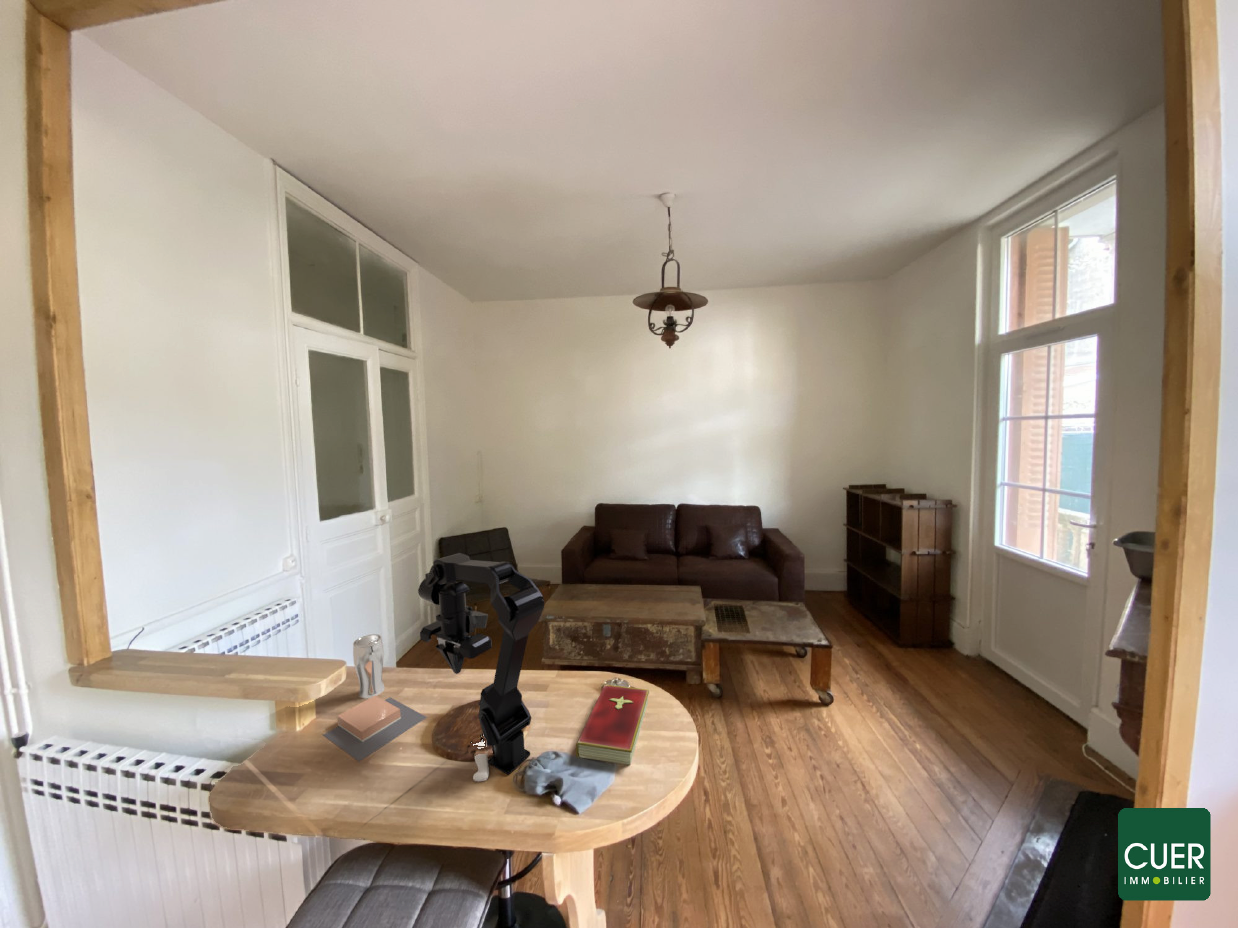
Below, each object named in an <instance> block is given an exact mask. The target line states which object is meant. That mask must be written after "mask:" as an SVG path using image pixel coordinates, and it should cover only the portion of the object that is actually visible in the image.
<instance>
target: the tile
mask: <svg viewBox="0 0 1238 928" xmlns="http://www.w3.org/2000/svg"><path fill="white" fill-rule="evenodd" d="M385 700H386V699H383V698H381V697H380V696H378V695H377V696H376V695H375V696H373V697H371V698H367V699H365V700H364V701H362V702H360V703H359V704H357V705H355V706H352V707H351V708H349V709H347V710H346V711H344V712H342V713H340V714H338V715H337V716H336V717H337V725H338V726H340V727H342V728H343V729H344V730H346V731H347V732H349V733H350V734H352V735H353V736H355V737H356V738H358V739H359V740H361V741H362V742H363V741H365V740H366V739H368V738H370V737H371V736H373V735H375V734H376V733H378V732H379V731H381V730H383V729H384V728H386V727H388V726H389V725H391V724H392V723H394V722H396V721H397V720H399V719H401V715H400V709H399V708H397V707H395V706H394V705H392V704H390V703H388V702H386V701H385Z"/></svg>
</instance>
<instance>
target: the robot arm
mask: <svg viewBox="0 0 1238 928" xmlns="http://www.w3.org/2000/svg"><path fill="white" fill-rule="evenodd" d="M432 563H433V565H432V566H430V570H429V572H427V573H425V574H424V575H425V577H424V579H423V580H422V581H421V582H420V584H419V587H418V589H417V593H418V595H419V597H420V598H421V599H423V600H425V601H428V603H432V604H434V605H436V606H437V605H438V606H439V614H437V615H435V619H436V621H434V622H432V623H430V624H427V625H426V626H423V627H422V629H421V630H420V632H419V638H420V641H422V642H425V643H430V641H431V640H432V636H433V635H434V636H436V640H437V641H438V644H437V645H436V646H435V649H436V650H438V652H439V653H440V654H441V656H442V657H443V658H444V660H445V661H446V663H447V664H448V666H449V667H450V669H451V670H452V672H453V673H454V674H456V675H458V674H460V673H461V672H462V668H463V665H464V661H465V658H467V659H470V660H472V659H473V660H474V659H475V658H477V657H479V656H480V655H482V654H484V653H485V652H487V651H489V650H490V649H492V645H493V644H492V638H491V637H490V636H488V635H485V634H482V633H479V632H477V633H476V634H474V635H472V634H471V633H474V632H475V629H486V627H487V622H488V618H489V614H488V613H485V612H481V611H477V610H473V607H472V606H469V605H467V600H466V599H467V598H466V593H469V592H470V591H471V590H470V588H469V586H468V585H467V584H465V583H464V582H470V583H477V584H478V583H479V584H487V587H488V588H489V589H490V605H491V606H492V608H493V609H494V611H495V612H496V613H497V622H498V623H499V625H500V626H501V628H502V629H503V630H502V631H503V633H502V638H501V643H500V648H499V653H498V657H497V663H496V669H495V674H494V678H493V682H492V683H491V684H489V685H487V686H485V687H484V688H482V690H481V691H480V698H479V702H478V704H477V705H478V706H479V709H478V710H479V711H478V720H479V725H480V729H481V731H482V732H483V736H484V738H485V739H486V746H488V747H491V752H492V751H493V753H492V756H491V757H489V758H488V765H490V766H492V767H493V768H495V769H497V770H498V771H501V772H503V773H504V774H506V775H510V774H512V773H513V772H514V771H515V770H516V769H517V768H518V767H519V766H520V765H521V764H522V763H523V762H524V761H526V759H528V758H529V757H530V755H531V751H530V750H528V749H526V748H525V737H524V735H525V734H524V729H525V728H527V726H528V727H529V726H530V725H531V722H532V716H531V714H530V712H529V710H528V709H527V706H526V705H525V703H524V702H523V694H522V692H521V690H519V688H518V685H519V679H520V675H521V671H522V666H523V661H524V656H525V652H526V648H527V643H528V638H529V634H530V632H531V631H532V630H533V628H534V627H535V626H536V624H538V622H539V621H540V618H541V616H542V614H543V612H544V609H545V599H544V596H543V594H542V592H541V591H540V590H539V588H538V587H537V586H536V584H535V583H534V582H533V580H532V579H531V578H530V577H528V576H526V575H524V574H522V573H521V572H519V571H517V569H515V567H514V566H513V564H512V563H511V562H510V561H499V562H498V561H488V560H475V559H474V560H473V559H470V556H469V555H467V554H464V553H461V552H457V553H454V554H452V555H448V556H444V557H441V558H437V559H434V560H433V562H432ZM505 582H507V583H508V584H510V585H512V586H513V587H515V588H517V589H518V590H517V591H516V592H513V593H511V594H508V595H506V596H504V597H503V595H502V594H501V592H500V584H503V583H505ZM482 732H481V733H482Z"/></svg>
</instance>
